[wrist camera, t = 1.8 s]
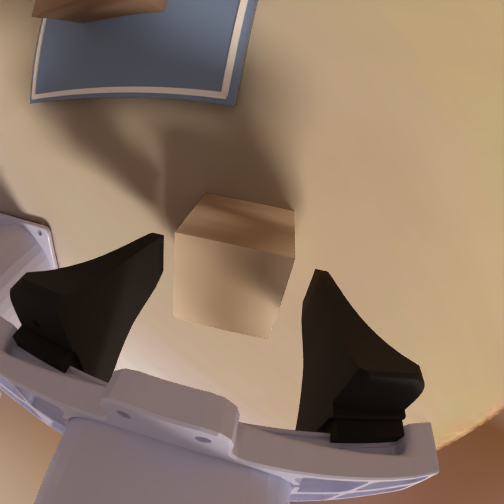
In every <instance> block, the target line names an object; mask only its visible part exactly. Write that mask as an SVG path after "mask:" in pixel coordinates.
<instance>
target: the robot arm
mask: <svg viewBox="0 0 504 504" xmlns="http://www.w3.org/2000/svg"><path fill="white" fill-rule="evenodd" d="M163 249H164V235H160V234H156V233H150V234H148V235H146V236H143V237H141V238H139V239H137V240H135V241H133V242H131V243H129V244H127V245H125V246H123V247H121V248H119V249H117V250H114V251H112V252H110V253H108V254H105V255H103V256H101V257H98V258H95V259H92V260H90V261H87V262H84V263H80V264H76V265H72V266H69V267H64V268H59V269H58V265H57V261H56V256H55V252H54V247H53V242H52V237H51V232H50V229H49V228H48V227H47V226H45V225H41V224H37V223H34V222H30V221H27V220H23V219H20V218H16V217H13V216H9V215H6V214H2V213H0V398H1V390H3V391H4V392H5V393H6V394H7V395H9V396H10V397H11V398H12V399H14V400H15V401H16V402H18V403H19V404H20V405H21V406H23V407H24V408H25V409H27V410H28V411H29V412H31V413H32V414H33V415H35V416H36V417H37V418H39V419H40V420H42V421H43V422H44V423H46V424H47V425H49V426H50V427H52V428H53V429H55V430H56V431H58V432H59V433H61V434H62V435H63V436H62V438H61V441H60V443H59V445H58V447H57V449H56V452H55V454H54V456H53V458H52V461H51V463H50V465H49V467H48V470H47V473H46V475H45V477H44V479H43V482H42V484H41V487H40V489H39V492H38V495H37V498H36V500H35V503H34V504H290V501H319V500H334V499H344V498H353V497H361V496H368V495H375V494H381V493H387V492H393V491H398V490H403V489H405V488H408V487H410V486H412V485H414V484H417V483H419V482H421V481H423V480H425V479H427V478H429V477H431V476H433V475H435V474H437V473H438V472H439V467H438V459H437V453H436V447H435V442H434V437H433V432H432V427H431V423H430V422H425V423H413V424H408V425H405V426H403V423H402V420H403V419H405V417H406V415H405V409H406V408H407V407H408V406H409V405H410V404H411V403H413V402H414V401H415V400H416V399H417V398H418V397H419V396H420V394H421V393H422V391H423V389H424V380H423V376H422V373H421V370H420V367H419V365H417V364H416V363H414V362H412V361H411V360H409V359H408V358H406V357H404V356H403V355H401V354H400V353H399V352H397V351H396V350H395V349H393V348H392V347H391V346H390V345H388V344H387V343H386V342H385V341H384V340H382V339H381V338H380V337H379V336H378V335H377V334H376V333H375V332H374V331H373V330H372V329H371V328H370V327H369V326H368V325H367V324H366V323H365V322H364V321H363V320H362V318H361V317H360V316H359V315H358V314H357V312H356V311H355V310H354V309H353V307H352V306H351V305H350V303H349V302H348V301H347V299H346V298H345V296H344V295H343V293H342V292H341V290H340V289H339V287H338V286H337V284H336V283H335V281H334V280H333V278H332V277H331V275H330V274H329V273H328V272H327V271H322V270H318V269H315V272H314V274H313V277H312V280H311V282H310V285H309V288H308V290H307V293H306V296H305V298H304V301H303V307H302V340H303V379H302V389H301V398H300V405H299V412H298V419H297V425H296V430H287V429H279V428H271V427H265V426H258V425H252V424H246V423H241V422H238V421H239V411H238V408H237V407H236V405H234V404H233V403H232V402H230V401H229V400H227V399H226V398H224V397H221V396H219V395H216V394H213V393H210V392H207V391H203V390H199V389H195V388H191V387H187V386H184V385H180V384H177V383H173V382H170V381H167V380H163V379H160V378H157V377H154V376H151V375H148V374H145V373H142V372H139V371H135V370H130V369H121V370H118V371H114V368H115V366H116V363H117V360H118V357H119V354H120V352H121V349H122V347H123V344H124V342H125V340H126V337H127V335H128V333H129V331H130V329H131V326H132V325H133V323H134V321H135V319H136V317H137V316H138V314H139V313H140V311H141V309H142V308H143V306H144V305H145V303H146V302H147V300H148V298H149V297H150V295H151V294H152V292H153V291H154V289H155V287H156V285H157V283H158V281H159V279H160V277H161V275H162V272H163ZM113 371H114V373H113ZM112 374H113V375H112Z"/></svg>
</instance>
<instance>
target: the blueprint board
mask: <svg viewBox="0 0 504 504" xmlns="http://www.w3.org/2000/svg"><path fill="white" fill-rule="evenodd" d="M257 2H258V0H36V2H35V6H34V9H33V13H32V17H38V18H42V22H41V26H40V31H39V36H38V41H37V46H36V52H35V58H34V66H33V74H32V83H31V96H30V104H32V103H39V102H47V101H56V100H66V99H80V98H101V97H143V98H165V99H179V100H191V101H201V102H209V103H217V104H225V105H236V102H237V97H238V92H239V87H240V81H241V76H242V71H243V66H244V61H245V56H246V52H247V47H248V42H249V37H250V33H251V28H252V24H253V19H254V15H255V11H256V6H257Z"/></svg>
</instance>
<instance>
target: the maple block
mask: <svg viewBox="0 0 504 504" xmlns="http://www.w3.org/2000/svg"><path fill="white" fill-rule="evenodd" d="M294 260H295V229H294V211H291V210H287V209H283V208H278V207H274V206H269V205H264V204H260V203H255V202H250V201H245V200H240V199H235V198H230V197H225V196H220V195H215V194H210V193H206V194H205V195H204V196H203V197H202V198H201V200H200V201H199V202H198V203H197V205H196V206H195V207H194V208H193V210H192V211H191V212H190V213H189V215H188V216H187V217H186V218H185V220H184V221H183V222H182V224H181V225H180V226H179V227H178V229H177V230H176V231H175V241H174V280H173V311H174V317H175V318H178V319H182V320H186V321H190V322H194V323H198V324H202V325H206V326H210V327H214V328H218V329H223V330H227V331H231V332H236V333H241V334H245V335H250V336H255V337H260V338H265V339H269V337H270V334H271V331H272V328H273V325H274V322H275V319H276V316H277V313H278V310H279V307H280V304H281V301H282V298H283V295H284V292H285V289H286V286H287V282H288V279H289V276H290V273H291V270H292V267H293V263H294Z"/></svg>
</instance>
